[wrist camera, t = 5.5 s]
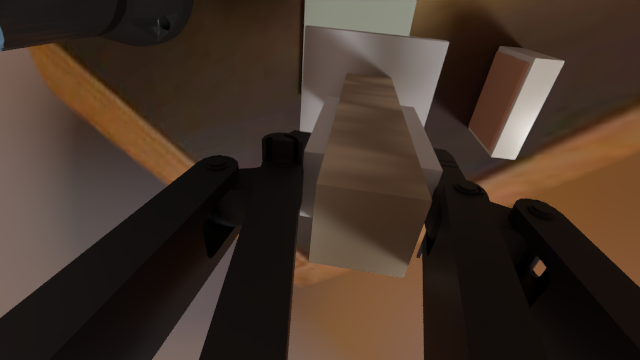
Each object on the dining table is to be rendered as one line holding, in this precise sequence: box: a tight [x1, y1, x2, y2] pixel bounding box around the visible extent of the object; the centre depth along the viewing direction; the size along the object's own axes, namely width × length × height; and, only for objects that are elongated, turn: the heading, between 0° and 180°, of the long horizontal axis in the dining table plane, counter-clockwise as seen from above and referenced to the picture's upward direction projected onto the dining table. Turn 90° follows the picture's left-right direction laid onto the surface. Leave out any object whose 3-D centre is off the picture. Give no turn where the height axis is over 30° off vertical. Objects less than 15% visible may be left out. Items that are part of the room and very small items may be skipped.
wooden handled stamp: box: [300, 25, 449, 278], centre depth 14 cm, size 9×8×15 cm
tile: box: [468, 46, 565, 160], centre depth 31 cm, size 3×10×8 cm, turn 176°
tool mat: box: [302, 0, 417, 81], centre depth 34 cm, size 12×12×1 cm
